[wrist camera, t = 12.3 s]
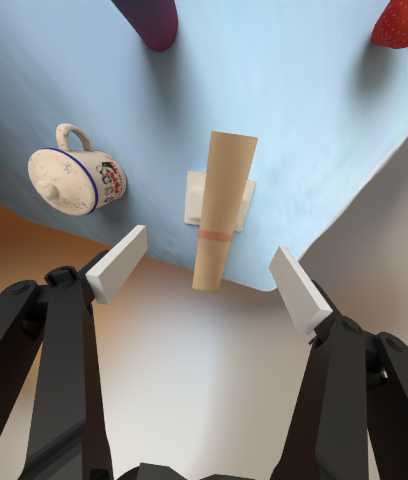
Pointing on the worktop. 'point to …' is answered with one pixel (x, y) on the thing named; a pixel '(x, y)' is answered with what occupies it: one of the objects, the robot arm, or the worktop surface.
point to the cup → (151, 20)
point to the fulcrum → (197, 193)
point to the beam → (221, 204)
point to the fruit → (392, 26)
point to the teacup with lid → (76, 175)
